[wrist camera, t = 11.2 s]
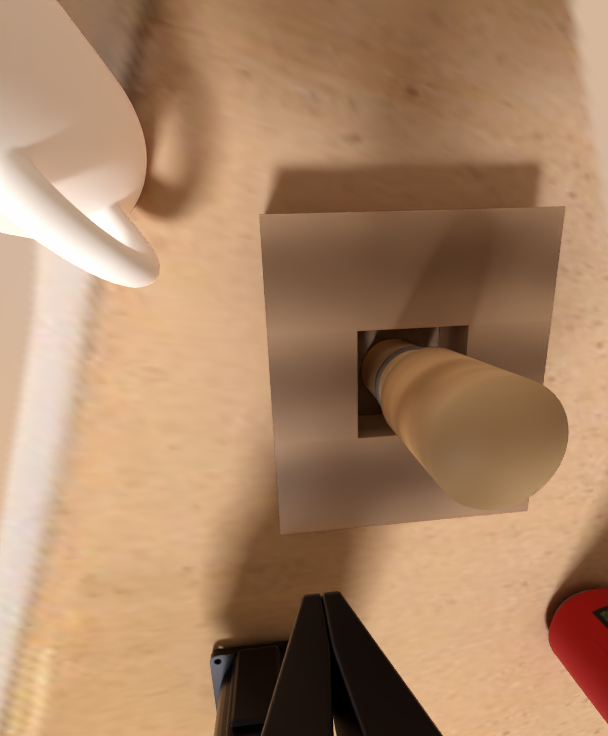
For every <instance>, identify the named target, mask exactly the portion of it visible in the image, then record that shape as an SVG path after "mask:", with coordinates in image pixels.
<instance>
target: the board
mask: <svg viewBox="0 0 608 736" xmlns="http://www.w3.org/2000/svg"><path fill="white" fill-rule="evenodd" d="M564 213H565V206H560V207H522V208H484V209H446V210H408V211H371V212H333V213H295V214H259V218H260V233H261V248H262V263H263V279H264V294H265V309H266V324H267V340H268V355H269V370H270V385H271V401H272V416H273V431H274V446H275V462H276V477H277V492H278V507H279V523H280V535H284V534H294V533H304V532H315V531H325V530H335V529H346V528H356V527H367V526H377V525H387V524H398V523H408V522H418V521H429V520H439V519H450V518H460V517H470V516H481V515H491V514H501V513H512V512H522V511H527V510H528V502H529V498H527V499H525V500H524V501H522V502H520V503H517V504H515V505H512V506H509V507H505V508H501V509H495V510H481V509H474V508H470V507H467V506H464V505H462V504H460V503H458V502H456V501H454V500H453V499H452V498H450V497H449V496H448V495H447V494H446V493H445V492H444V491H443V490H442V489H441V487H440V486H439V485H438V484H437V483H436V481H435V480H434V479H433V478H432V477H431V475H430V474H429V473H428V472H427V471H426V469H425V468H424V467H423V466H422V465H421V463H420V462H419V461H418V460H417V459H416V457H415V456H414V455H413V454H412V453H411V451H410V450H409V449H408V448H407V447H406V445H405V444H404V443H403V442H402V441H401V439H400V438H399V437H398V436H397V435H396V433H395V432H394V431H393V430H392V429H391V427H390V426H389V425H388V423H387V422H386V420H385V418H384V415H383V414H379V415H365V416H358V377H357V331H368V330H387V329H406V328H425V327H440V330H439V347H440V348H445V349H449V350H452V351H454V352H457V353H460V354H463V355H465V356H468V357H471V358H473V359H476V360H479V361H482V362H484V363H487V364H490V365H492V366H495V367H498V368H501V369H503V370H506V371H509V372H511V373H514V374H517V375H520V376H522V377H525V378H528V379H530V380H533V381H535V382H538V383H540V384H542V385H543V382H544V374H545V366H546V357H547V349H548V341H549V333H550V325H551V317H552V309H553V301H554V293H555V285H556V277H557V269H558V261H559V253H560V245H561V237H562V229H563V221H564Z"/></svg>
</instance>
